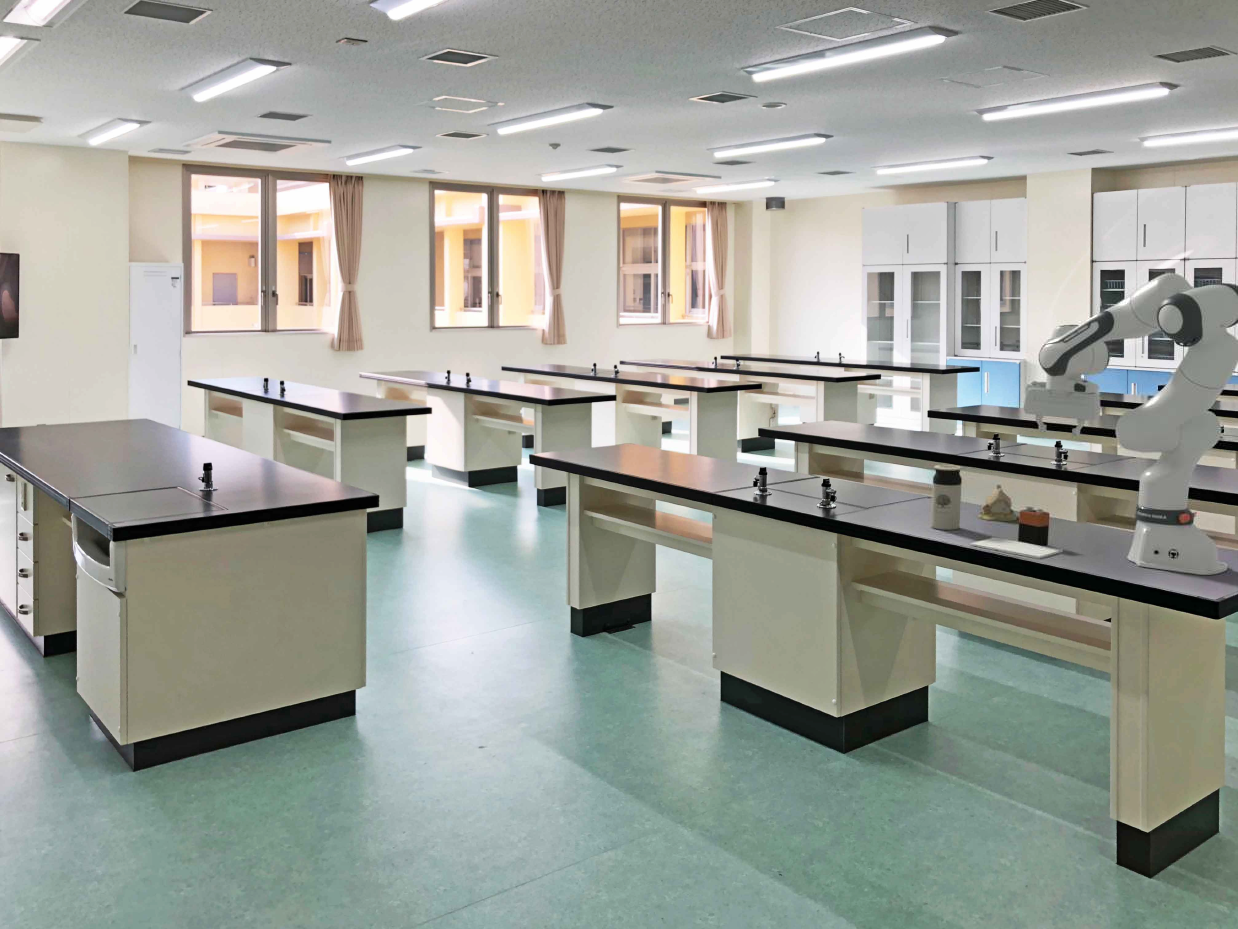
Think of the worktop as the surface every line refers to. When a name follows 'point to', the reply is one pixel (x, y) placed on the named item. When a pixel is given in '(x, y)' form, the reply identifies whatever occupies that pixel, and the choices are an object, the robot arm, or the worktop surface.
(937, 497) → the travel mug
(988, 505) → the ceramic model
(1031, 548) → the bench mat
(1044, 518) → the battery
